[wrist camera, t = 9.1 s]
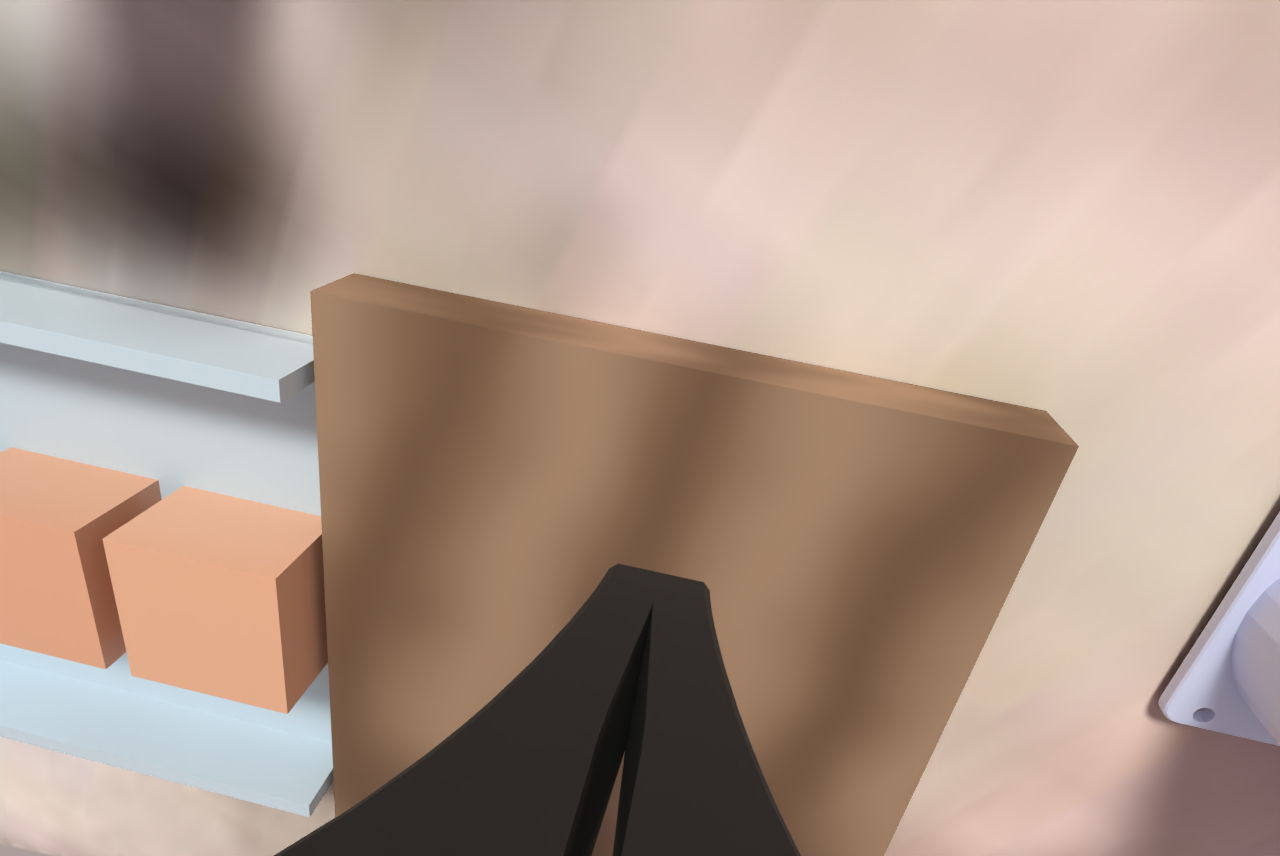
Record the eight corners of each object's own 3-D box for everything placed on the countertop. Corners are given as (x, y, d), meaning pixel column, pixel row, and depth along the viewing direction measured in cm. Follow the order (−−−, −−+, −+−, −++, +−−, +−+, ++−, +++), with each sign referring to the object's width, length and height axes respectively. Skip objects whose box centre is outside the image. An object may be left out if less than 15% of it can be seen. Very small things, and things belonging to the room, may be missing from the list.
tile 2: (336, 519, 22) (275, 578, 19) (341, 644, 24) (287, 714, 21) (183, 485, 22) (102, 538, 19) (202, 611, 24) (131, 675, 21)
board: (1046, 411, 17) (1078, 446, 16) (828, 902, 26) (833, 960, 24) (353, 273, 19) (310, 291, 17) (363, 783, 27) (335, 830, 26)
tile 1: (158, 480, 22) (74, 532, 19) (179, 606, 24) (106, 669, 21) (11, 447, 22) (-92, 494, 20) (45, 574, 25) (-44, 632, 22)
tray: (344, 342, 20) (278, 379, 17) (355, 745, 27) (309, 817, 24) (-145, 241, 21) (-280, 261, 18) (-13, 652, 28) (-97, 711, 25)
